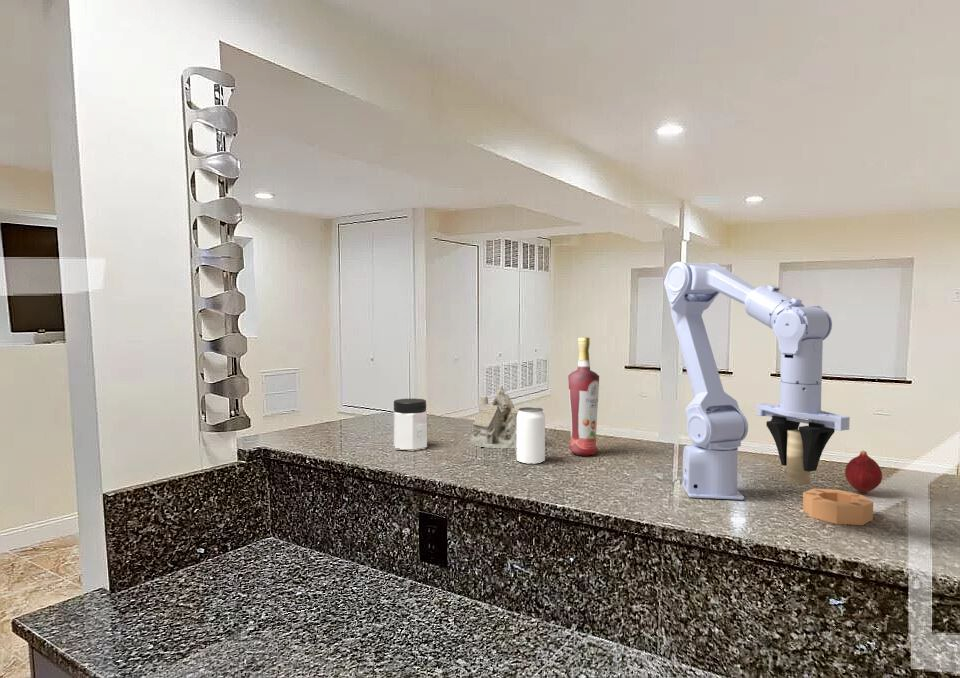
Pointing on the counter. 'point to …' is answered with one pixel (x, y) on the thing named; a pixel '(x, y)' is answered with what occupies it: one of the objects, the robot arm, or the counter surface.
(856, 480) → the onion
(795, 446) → the dowel
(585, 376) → the liquor
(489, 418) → the ceramic cottage
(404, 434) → the jar
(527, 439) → the can
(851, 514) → the orange faceted ring
